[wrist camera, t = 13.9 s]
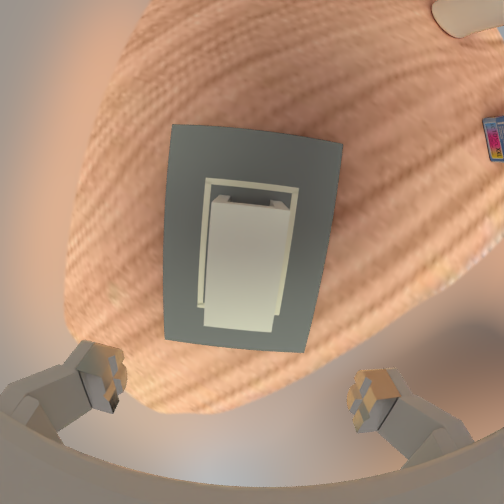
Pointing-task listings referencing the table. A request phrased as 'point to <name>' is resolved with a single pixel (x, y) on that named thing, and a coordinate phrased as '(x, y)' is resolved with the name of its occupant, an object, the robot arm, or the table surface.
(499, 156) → the ink cartridge box
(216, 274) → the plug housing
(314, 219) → the board
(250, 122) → the table surface
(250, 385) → the table surface
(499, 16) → the drinking glass
